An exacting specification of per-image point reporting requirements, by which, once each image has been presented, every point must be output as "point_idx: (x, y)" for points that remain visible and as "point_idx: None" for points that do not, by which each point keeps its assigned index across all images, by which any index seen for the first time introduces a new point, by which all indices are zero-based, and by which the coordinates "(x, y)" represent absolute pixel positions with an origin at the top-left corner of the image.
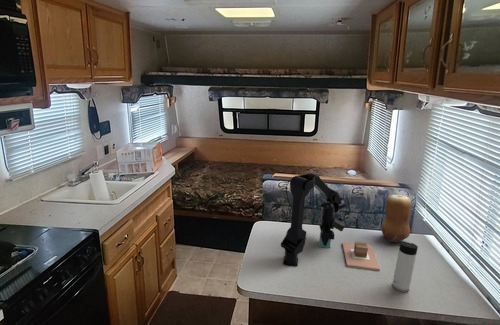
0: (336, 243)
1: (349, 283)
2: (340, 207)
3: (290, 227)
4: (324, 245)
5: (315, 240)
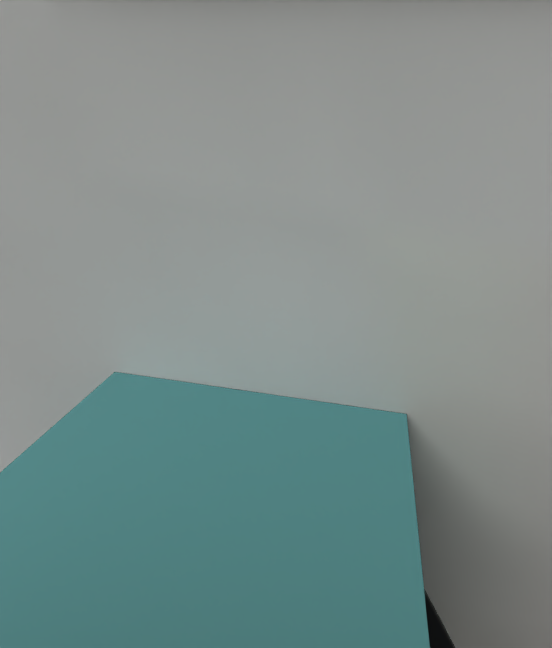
0: (78, 150)
1: None
2: None
3: None
4: None
5: None
